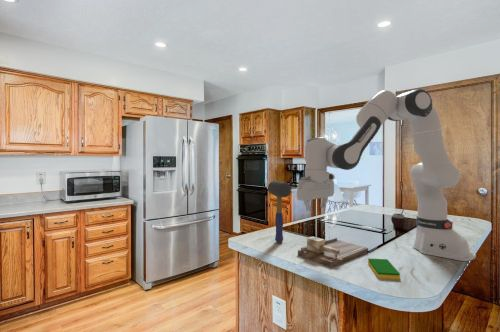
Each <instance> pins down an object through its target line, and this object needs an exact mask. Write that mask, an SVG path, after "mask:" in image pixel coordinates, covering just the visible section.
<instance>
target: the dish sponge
mask: <svg viewBox="0 0 500 332" xmlns="http://www.w3.org/2000/svg"><path fill="white" fill-rule="evenodd" d="M367 263H368V266H369V267H370V268H371V270H372V271H373V273H374V274H375V276H376V278H378V279H382V280H383V279H384V280H399V281H400V279H401V273H400V272H399V271H398V270H397V269H396V267H395V266H394V265H393V264H392V263H391V261H390V260H389V259H385V258H368V260H367Z"/></svg>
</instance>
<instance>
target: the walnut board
mask: <svg viewBox="0 0 500 332" xmlns="http://www.w3.org/2000/svg"><path fill="white" fill-rule="evenodd" d="M324 240H325V239H324ZM325 246H328V247H331V248H335V249H338V250H340V254H338V255H337V257H335V254H333V253H330V252H326V251H324V252H322V253H319V254H318V253H315V252H312V251H309V250H307V245H306V246H301V247H300V249H298V250H297V256H299V257H303V258H306V259H308V260H310V261H313V262H316V263H319V264H322V265H324V266H327V267H330V268H333V267H336V266H339V265H341V264H344V263H346V262H348V260H349V261H351V260H353V259H356V258H359V257H361V256H363V255H365V254H364V253H366V252H367V251H368V252H369V248H368V247H365V246H363V245H362V246H361V245H359V244H358V245H357V244H355V243H351V242H346V241H343V240H339V239H338V237H332V238H328V239H326V240H325ZM362 254H363V255H362ZM366 254H367V253H366ZM360 255H361V256H360ZM355 257H356V258H355ZM350 259H351V260H350ZM338 264H339V265H338Z"/></svg>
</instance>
